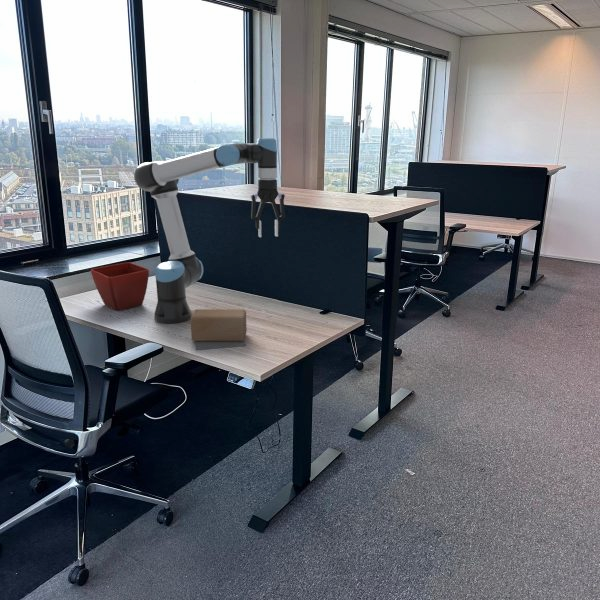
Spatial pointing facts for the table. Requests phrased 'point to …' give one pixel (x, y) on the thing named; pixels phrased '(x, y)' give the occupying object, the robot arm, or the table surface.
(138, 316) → the table surface
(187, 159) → the robot arm
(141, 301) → the plant pot
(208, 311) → the block
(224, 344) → the mat
